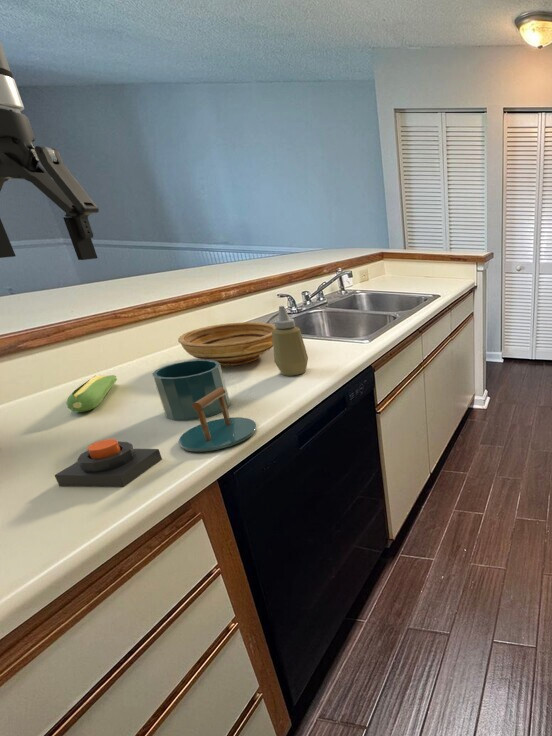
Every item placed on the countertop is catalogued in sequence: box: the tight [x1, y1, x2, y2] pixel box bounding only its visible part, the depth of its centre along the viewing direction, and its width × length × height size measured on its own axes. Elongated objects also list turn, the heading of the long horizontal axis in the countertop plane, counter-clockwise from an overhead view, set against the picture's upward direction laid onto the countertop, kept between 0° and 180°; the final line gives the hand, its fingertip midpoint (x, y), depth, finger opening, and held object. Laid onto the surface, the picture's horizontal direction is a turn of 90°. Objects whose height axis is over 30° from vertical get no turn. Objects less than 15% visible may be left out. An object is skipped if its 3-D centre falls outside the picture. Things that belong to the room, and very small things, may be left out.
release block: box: [54, 441, 163, 488], centre depth 69 cm, size 10×8×4 cm
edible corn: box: [66, 374, 118, 413], centre depth 95 cm, size 5×20×5 cm, turn 27°
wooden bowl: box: [177, 321, 276, 366], centre depth 121 cm, size 30×24×8 cm
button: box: [87, 438, 121, 459], centre depth 68 cm, size 4×4×2 cm
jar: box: [151, 359, 231, 422], centre depth 90 cm, size 11×11×10 cm
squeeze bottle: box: [272, 305, 309, 377], centre depth 110 cm, size 8×8×18 cm
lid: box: [178, 387, 258, 452], centre depth 79 cm, size 12×12×9 cm
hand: (46, 258), depth 70 cm, fingers open, 13 cm apart
